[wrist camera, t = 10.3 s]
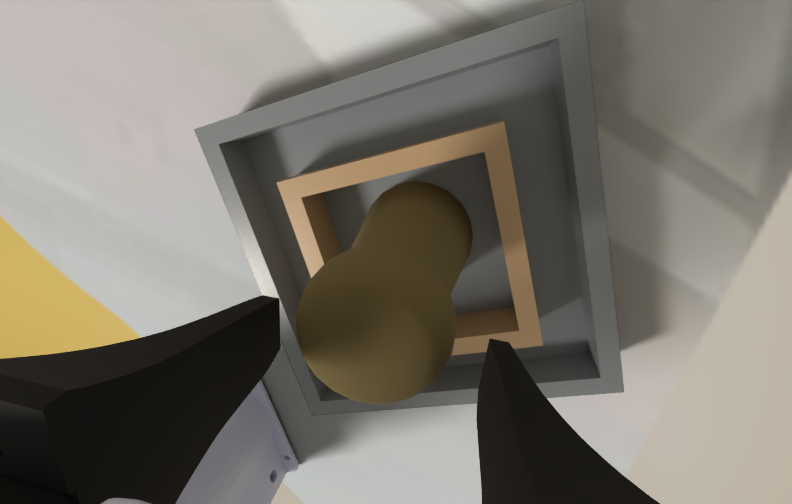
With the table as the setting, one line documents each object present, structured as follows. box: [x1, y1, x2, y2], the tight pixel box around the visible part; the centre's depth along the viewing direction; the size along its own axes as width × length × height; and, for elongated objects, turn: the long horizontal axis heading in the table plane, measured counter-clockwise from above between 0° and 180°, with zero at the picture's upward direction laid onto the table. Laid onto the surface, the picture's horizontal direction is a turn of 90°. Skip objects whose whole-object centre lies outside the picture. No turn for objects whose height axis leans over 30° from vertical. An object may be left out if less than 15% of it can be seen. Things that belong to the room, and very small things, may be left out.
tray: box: [194, 0, 624, 415], centre depth 21 cm, size 18×18×3 cm
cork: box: [296, 181, 473, 404], centre depth 16 cm, size 6×6×11 cm
